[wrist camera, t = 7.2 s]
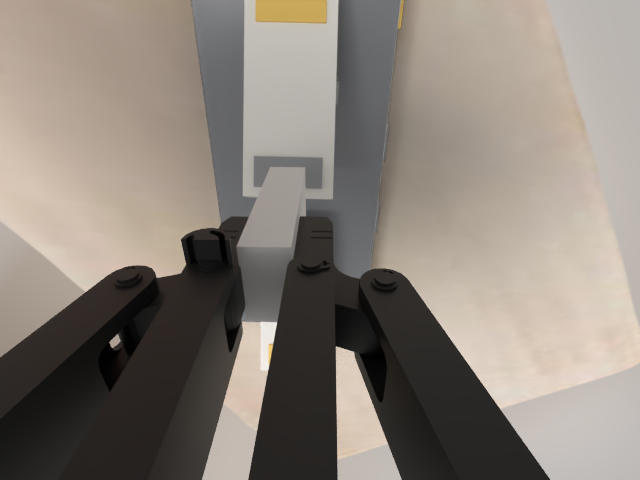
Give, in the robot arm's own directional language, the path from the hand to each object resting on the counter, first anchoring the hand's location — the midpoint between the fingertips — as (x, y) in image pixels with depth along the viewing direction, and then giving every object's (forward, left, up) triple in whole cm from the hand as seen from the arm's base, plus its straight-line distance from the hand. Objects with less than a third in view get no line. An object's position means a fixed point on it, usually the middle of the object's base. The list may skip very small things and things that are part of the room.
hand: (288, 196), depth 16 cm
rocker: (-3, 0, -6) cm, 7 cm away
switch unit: (+4, 0, -15) cm, 16 cm away
